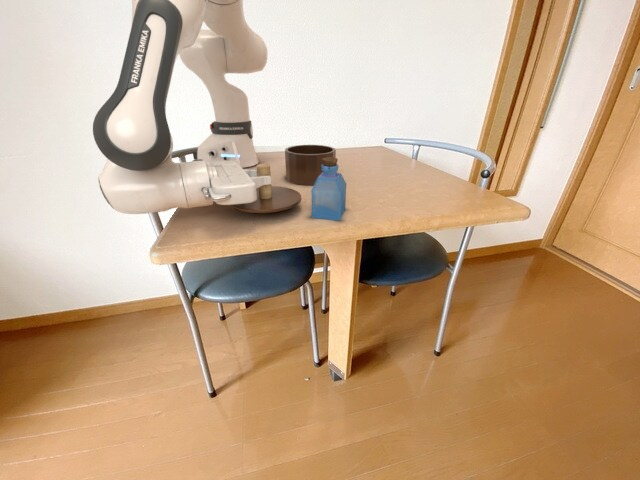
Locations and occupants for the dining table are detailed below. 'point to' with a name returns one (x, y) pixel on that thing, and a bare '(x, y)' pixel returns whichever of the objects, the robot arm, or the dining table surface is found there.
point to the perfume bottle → (329, 192)
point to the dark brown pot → (306, 162)
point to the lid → (270, 196)
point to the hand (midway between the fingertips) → (267, 176)
